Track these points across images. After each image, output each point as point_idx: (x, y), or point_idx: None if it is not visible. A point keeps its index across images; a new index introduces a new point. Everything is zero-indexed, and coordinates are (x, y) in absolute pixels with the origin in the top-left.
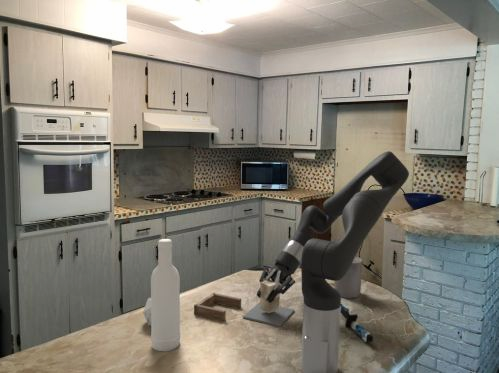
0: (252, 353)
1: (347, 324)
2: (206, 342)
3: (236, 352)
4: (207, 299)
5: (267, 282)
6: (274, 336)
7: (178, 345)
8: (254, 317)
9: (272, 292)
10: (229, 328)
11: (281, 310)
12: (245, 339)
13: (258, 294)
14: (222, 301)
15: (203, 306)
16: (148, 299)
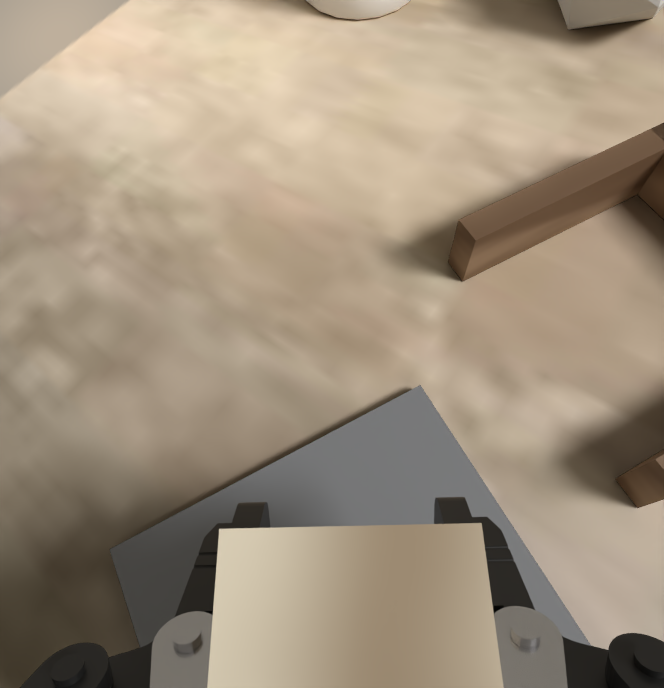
0: (24, 201)
1: None
2: (269, 95)
3: (92, 152)
4: None
5: (398, 642)
6: (50, 406)
7: (313, 4)
8: (352, 450)
9: (213, 592)
10: (332, 242)
11: None
12: (158, 245)
13: (438, 509)
14: None
15: (625, 156)
16: None
